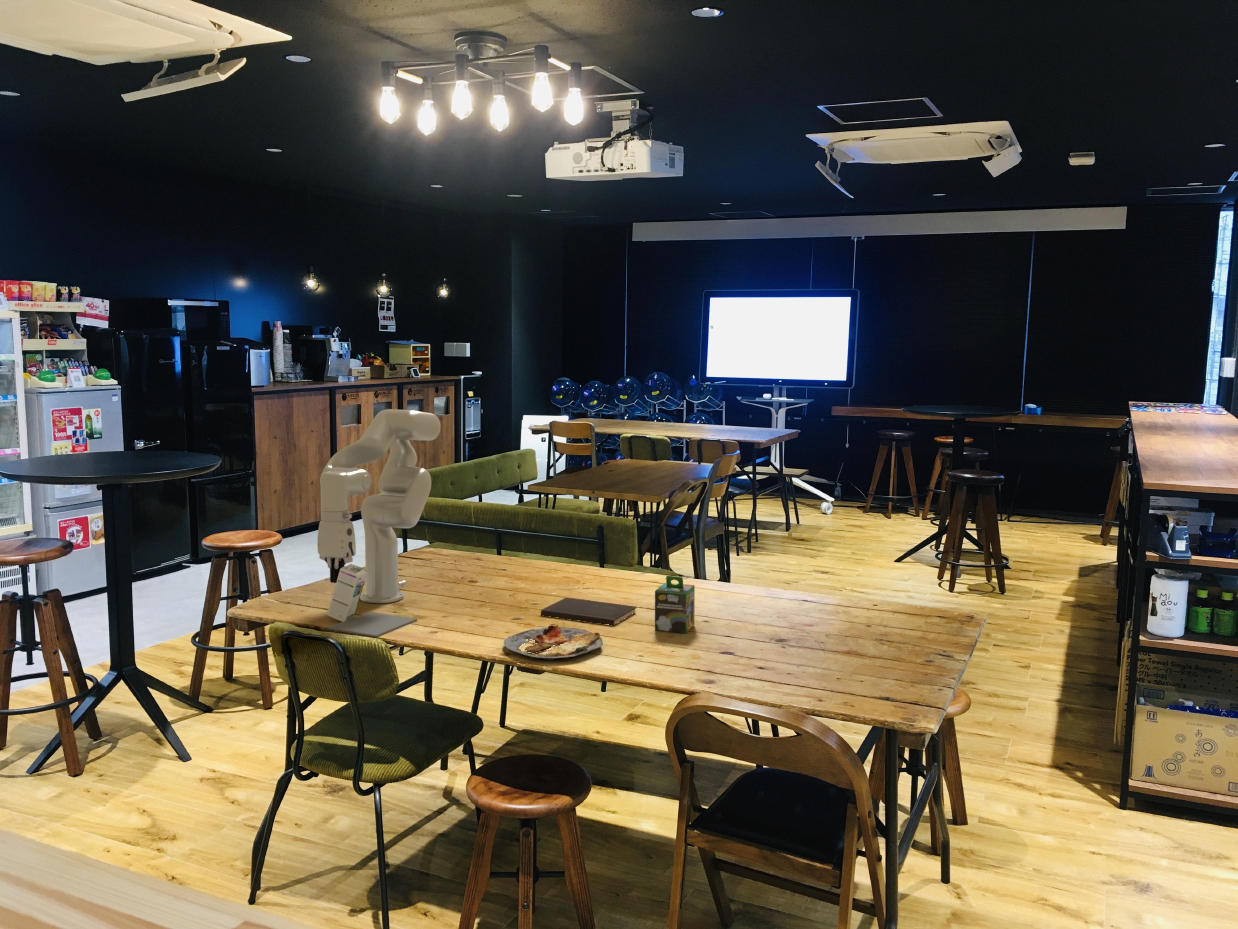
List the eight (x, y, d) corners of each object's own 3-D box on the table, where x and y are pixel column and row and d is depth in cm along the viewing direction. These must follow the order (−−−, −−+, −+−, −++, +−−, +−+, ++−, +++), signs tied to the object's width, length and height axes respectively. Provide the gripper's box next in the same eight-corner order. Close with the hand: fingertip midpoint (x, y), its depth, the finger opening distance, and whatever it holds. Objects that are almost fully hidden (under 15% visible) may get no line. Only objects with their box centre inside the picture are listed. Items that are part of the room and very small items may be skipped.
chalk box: (694, 625, 270) (696, 573, 268) (686, 634, 261) (687, 580, 260) (662, 622, 273) (664, 570, 271) (653, 630, 264) (654, 577, 263)
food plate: (554, 628, 264) (554, 616, 264) (620, 647, 250) (620, 633, 249) (486, 652, 245) (486, 638, 245) (554, 673, 231) (554, 659, 230)
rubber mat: (370, 613, 276) (370, 611, 276) (417, 620, 270) (417, 618, 270) (327, 629, 260) (327, 627, 260) (376, 637, 254) (376, 635, 254)
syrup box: (344, 623, 266) (359, 575, 264) (325, 615, 267) (340, 567, 265) (354, 617, 272) (369, 570, 269) (335, 609, 273) (350, 562, 270)
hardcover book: (566, 604, 292) (566, 597, 292) (636, 614, 283) (636, 606, 282) (540, 617, 277) (540, 609, 277) (613, 628, 268) (613, 620, 268)
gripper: (366, 516, 267) (366, 582, 269) (323, 512, 273) (324, 576, 275) (347, 520, 260) (348, 587, 262) (304, 516, 266) (305, 581, 269)
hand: (336, 581), depth 269 cm, fingers closed
